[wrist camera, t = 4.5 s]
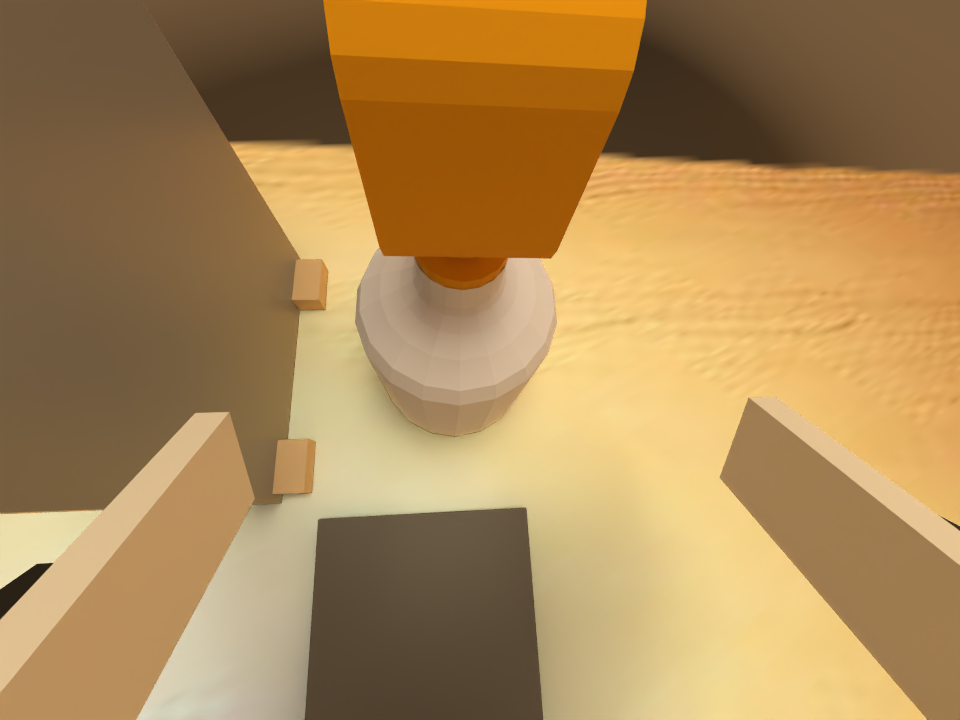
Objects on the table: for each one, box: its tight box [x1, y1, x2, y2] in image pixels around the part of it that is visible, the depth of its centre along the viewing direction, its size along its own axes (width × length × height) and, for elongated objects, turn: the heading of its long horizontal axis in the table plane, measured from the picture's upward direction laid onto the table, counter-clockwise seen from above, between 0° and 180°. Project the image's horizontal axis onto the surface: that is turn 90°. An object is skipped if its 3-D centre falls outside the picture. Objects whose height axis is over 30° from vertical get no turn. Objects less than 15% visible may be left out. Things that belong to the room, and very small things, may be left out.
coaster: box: [305, 508, 543, 720], centre depth 23 cm, size 12×12×1 cm
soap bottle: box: [324, 0, 646, 436], centre depth 16 cm, size 9×9×25 cm
